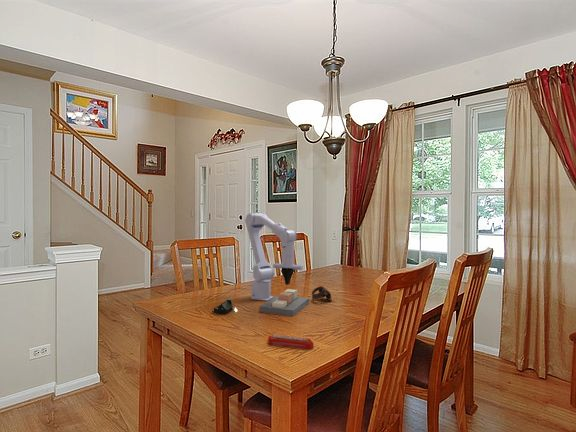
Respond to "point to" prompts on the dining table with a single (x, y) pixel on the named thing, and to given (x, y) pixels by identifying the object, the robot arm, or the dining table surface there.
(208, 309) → the dining table surface
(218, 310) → the black lumpy piece
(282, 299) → the terracotta key
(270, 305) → the grey rectangular frame
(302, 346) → the candy bar
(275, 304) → the cream key
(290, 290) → the sage key
